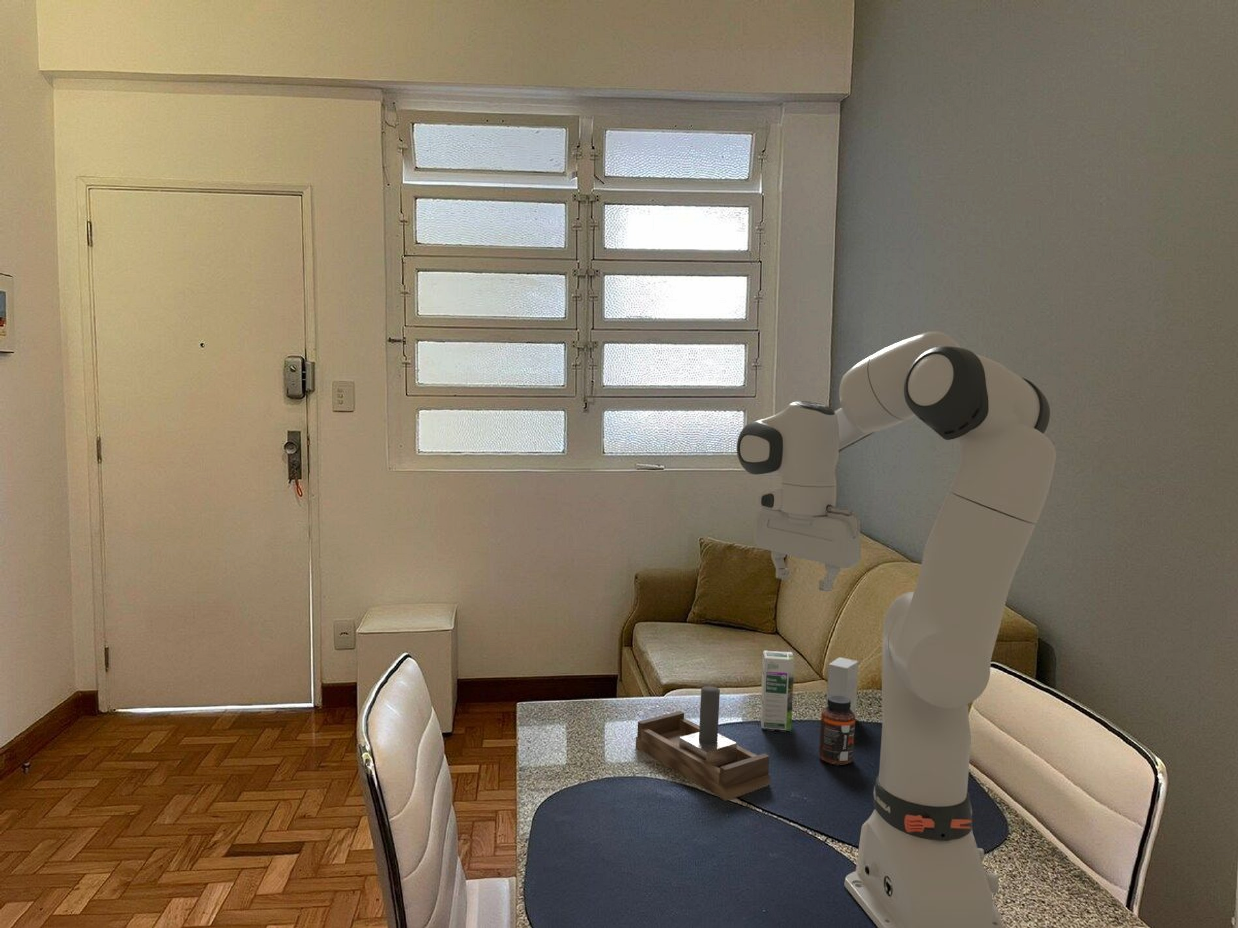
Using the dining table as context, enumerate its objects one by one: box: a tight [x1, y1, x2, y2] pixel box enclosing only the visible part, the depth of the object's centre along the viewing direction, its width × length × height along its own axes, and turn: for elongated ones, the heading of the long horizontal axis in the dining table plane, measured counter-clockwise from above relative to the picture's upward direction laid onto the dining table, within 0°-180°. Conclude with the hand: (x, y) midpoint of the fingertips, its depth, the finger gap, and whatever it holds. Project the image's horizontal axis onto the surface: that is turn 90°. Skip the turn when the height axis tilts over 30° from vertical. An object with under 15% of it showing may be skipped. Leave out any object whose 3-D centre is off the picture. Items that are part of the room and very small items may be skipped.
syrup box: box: [759, 650, 795, 731], centre depth 169 cm, size 6×6×14 cm
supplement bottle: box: [818, 695, 856, 765], centre depth 154 cm, size 6×6×11 cm
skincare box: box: [825, 656, 859, 717], centre depth 173 cm, size 6×4×12 cm
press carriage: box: [679, 685, 738, 766], centre depth 148 cm, size 7×7×12 cm
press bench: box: [635, 710, 771, 801], centre depth 150 cm, size 24×10×5 cm, turn 36°
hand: (803, 584), depth 142 cm, fingers open, 8 cm apart
